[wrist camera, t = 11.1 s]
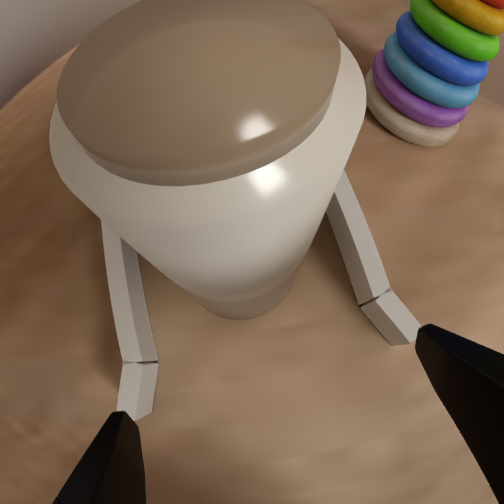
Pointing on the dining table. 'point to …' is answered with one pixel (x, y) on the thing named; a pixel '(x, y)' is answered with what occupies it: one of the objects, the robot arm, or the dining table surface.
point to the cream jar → (211, 139)
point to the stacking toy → (433, 67)
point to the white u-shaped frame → (138, 324)
